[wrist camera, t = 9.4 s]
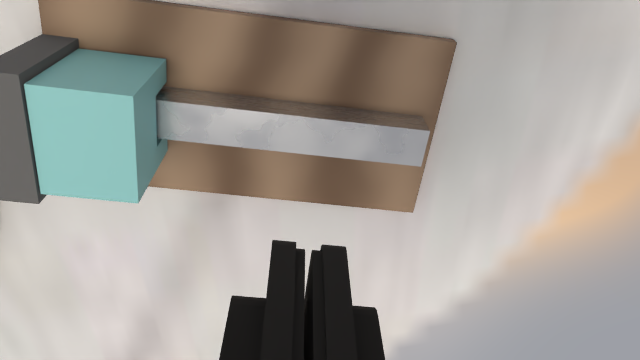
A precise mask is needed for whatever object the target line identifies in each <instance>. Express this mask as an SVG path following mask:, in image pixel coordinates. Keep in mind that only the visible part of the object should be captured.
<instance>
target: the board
mask: <svg viewBox="0 0 640 360" xmlns="http://www.w3.org/2000/svg"><path fill="white" fill-rule="evenodd" d="M38 3H39V11H40V18H41V26H42V34H46V35H54V36H63V37H71V38H78V40H79V49H87V50H95V51H104V52H112V53H120V54H129V55H137V56H145V57H154V58H162V59H166V81H167V82H166V83H165V85H164V86H166V87H175V88H184V89H192V90H201V91H209V92H218V93H227V94H235V95H244V96H253V97H261V98H270V99H279V100H287V101H296V102H304V103H313V104H322V105H330V106H339V107H348V108H356V109H365V110H374V111H382V112H391V113H400V114H408V115H417V116H422V117H423V119H424V120H425V122H426V124H427V126H428V128H429V130H430V134H429V138H428V142H427V146H426V150H425V154H424V158H423V162H422V165H421V167H419V166H409V165H400V164H391V163H381V162H372V161H363V160H354V159H344V158H335V157H326V156H316V155H307V154H298V153H288V152H279V151H270V150H260V149H251V148H242V147H232V146H223V145H214V144H204V143H195V142H186V141H176V140H167V147H168V151H167V152H166V154H165V156H164V158H163V160H162V162H161V163H160V165H159V167H158V169H157V171H156V172H155V174H154V176H153V178H152V180H151V181H150V183H149V185H148V186H150V187H160V188H170V189H180V190H190V191H200V192H210V193H220V194H231V195H241V196H251V197H261V198H271V199H281V200H291V201H301V202H311V203H321V204H331V205H341V206H351V207H361V208H371V209H382V210H392V211H402V212H412V213H413V210H414V207H415V203H416V199H417V195H418V191H419V187H420V183H421V179H422V176H423V172H424V168H425V164H426V160H427V156H428V152H429V149H430V145H431V141H432V137H433V133H434V129H435V125H436V122H437V118H438V114H439V110H440V106H441V102H442V98H443V94H444V91H445V87H446V83H447V79H448V75H449V71H450V67H451V64H452V60H453V56H454V52H455V48H456V44H457V42H456V41H455V40H453V39H446V38H438V37H430V36H423V35H415V34H407V33H399V32H392V31H384V30H376V29H368V28H361V27H353V26H345V25H338V24H330V23H322V22H314V21H307V20H299V19H291V18H283V17H276V16H268V15H260V14H253V13H245V12H237V11H229V10H222V9H214V8H206V7H198V6H191V5H183V4H175V3H167V2H160V1H152V0H38Z"/></svg>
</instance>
